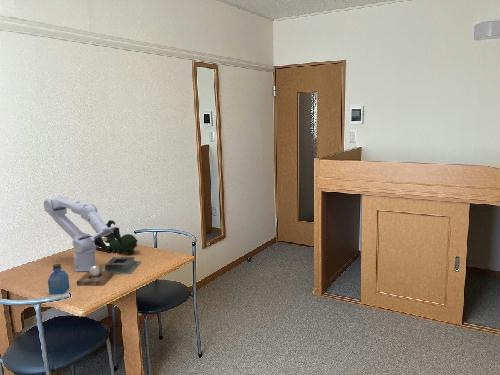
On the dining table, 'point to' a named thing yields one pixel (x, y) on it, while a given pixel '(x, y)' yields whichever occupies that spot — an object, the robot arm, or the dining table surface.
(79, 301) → the dining table surface
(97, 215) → the robot arm
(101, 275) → the walnut stand
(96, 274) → the steel peg
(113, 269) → the metal hub block
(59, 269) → the perfume bottle
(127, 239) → the toy figurine
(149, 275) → the dining table surface
